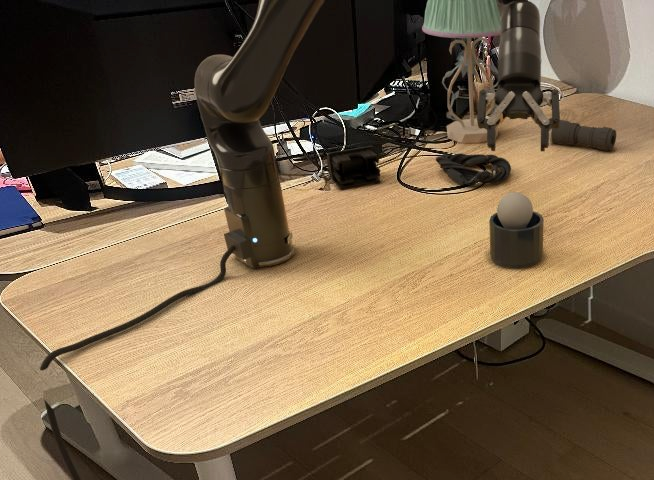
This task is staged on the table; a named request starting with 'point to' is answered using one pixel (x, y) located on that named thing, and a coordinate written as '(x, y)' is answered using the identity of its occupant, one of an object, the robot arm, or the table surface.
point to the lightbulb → (514, 210)
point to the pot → (516, 243)
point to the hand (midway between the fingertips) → (517, 149)
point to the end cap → (354, 167)
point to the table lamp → (464, 52)
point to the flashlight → (583, 135)
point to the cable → (470, 176)
